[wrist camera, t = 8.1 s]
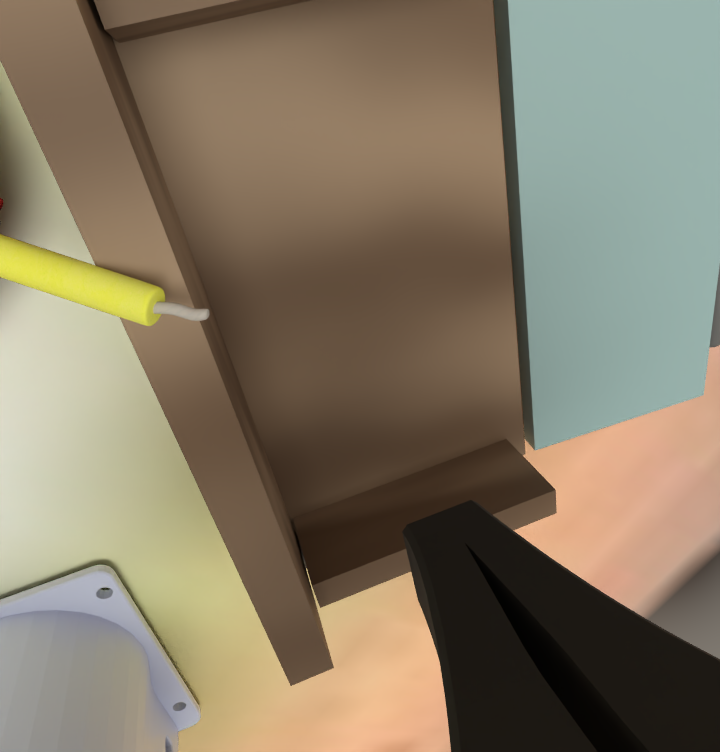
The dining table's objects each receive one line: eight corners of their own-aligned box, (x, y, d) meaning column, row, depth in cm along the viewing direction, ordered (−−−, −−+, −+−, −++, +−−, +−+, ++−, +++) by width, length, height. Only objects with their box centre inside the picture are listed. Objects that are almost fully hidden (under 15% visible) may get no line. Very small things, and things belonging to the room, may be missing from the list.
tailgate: (524, 438, 21) (703, 380, 22) (535, 450, 21) (719, 389, 21) (487, -88, 13) (768, -150, 14) (501, -97, 13) (797, -162, 14)
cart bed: (506, 448, 22) (616, 567, 17) (264, 539, 21) (298, 702, 15) (453, -118, 14) (648, -263, 8) (29, -34, 12) (-94, -143, 6)
